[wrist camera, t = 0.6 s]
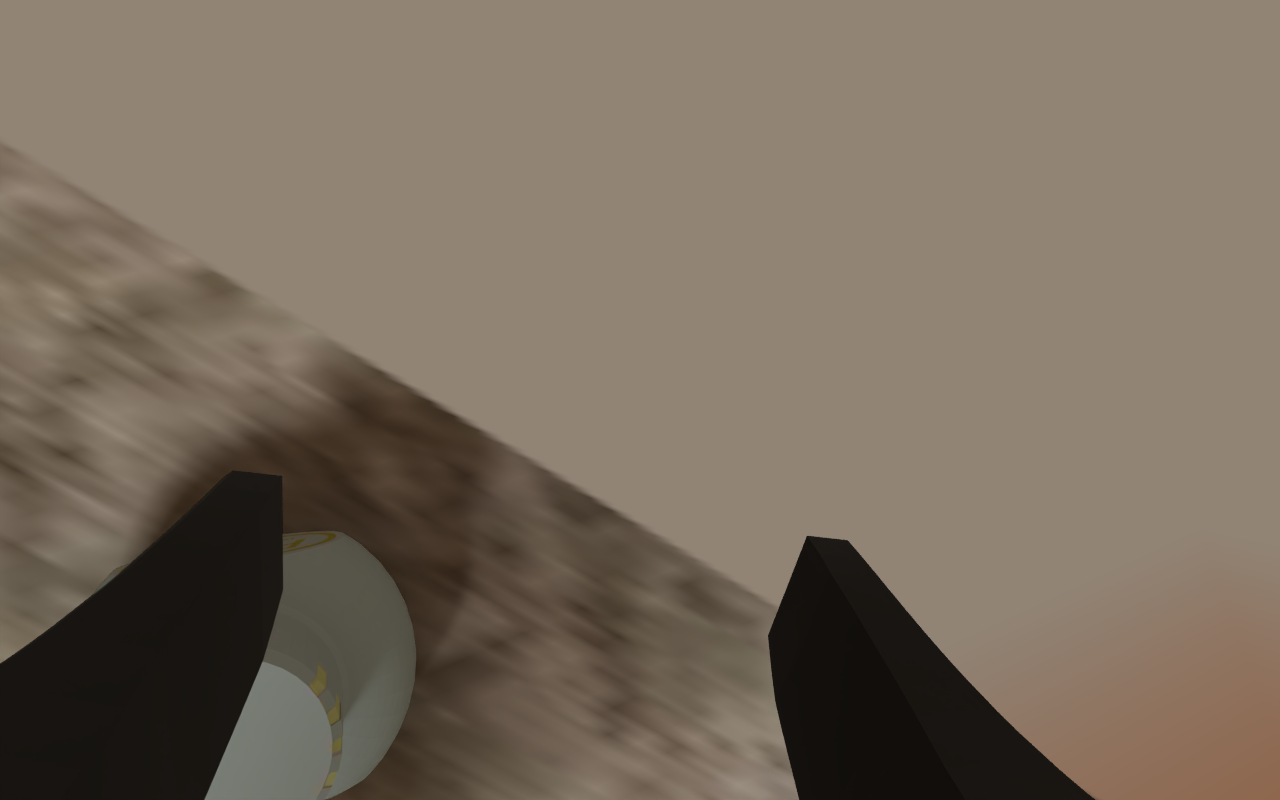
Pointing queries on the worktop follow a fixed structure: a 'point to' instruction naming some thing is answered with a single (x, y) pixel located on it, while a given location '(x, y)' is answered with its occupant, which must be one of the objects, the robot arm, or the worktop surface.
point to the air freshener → (322, 677)
